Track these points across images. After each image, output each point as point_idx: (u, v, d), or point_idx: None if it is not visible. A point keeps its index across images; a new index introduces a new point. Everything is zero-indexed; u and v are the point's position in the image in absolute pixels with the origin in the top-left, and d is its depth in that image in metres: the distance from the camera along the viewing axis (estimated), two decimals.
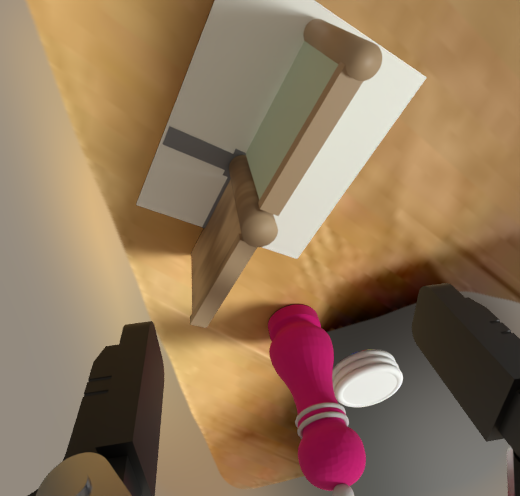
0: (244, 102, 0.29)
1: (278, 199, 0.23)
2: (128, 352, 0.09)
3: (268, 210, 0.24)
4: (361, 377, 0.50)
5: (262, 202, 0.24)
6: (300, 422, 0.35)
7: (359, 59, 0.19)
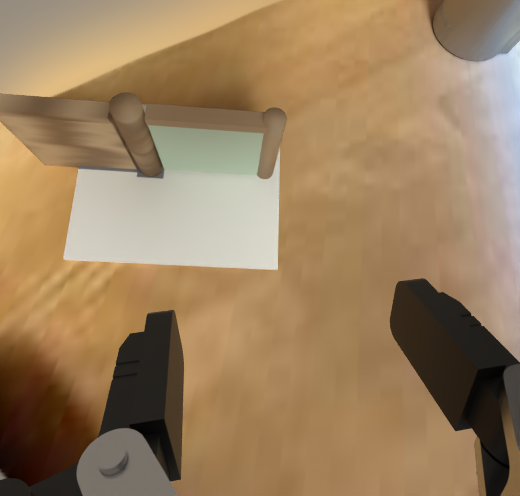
0: None
1: (159, 112, 0.29)
2: (153, 338, 0.09)
3: (147, 109, 0.29)
4: None
5: (151, 105, 0.29)
6: None
7: (274, 113, 0.29)
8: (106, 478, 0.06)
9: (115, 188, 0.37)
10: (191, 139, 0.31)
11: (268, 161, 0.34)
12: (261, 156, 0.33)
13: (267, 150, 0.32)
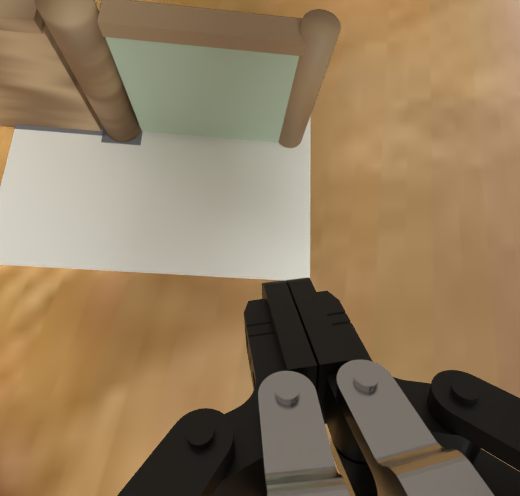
0: None
1: (124, 13, 0.17)
2: (278, 302, 0.10)
3: (103, 7, 0.17)
4: None
5: (111, 2, 0.17)
6: None
7: (320, 18, 0.17)
8: (289, 408, 0.07)
9: (67, 158, 0.25)
10: (179, 72, 0.20)
11: (300, 115, 0.22)
12: (289, 105, 0.22)
13: (301, 93, 0.20)
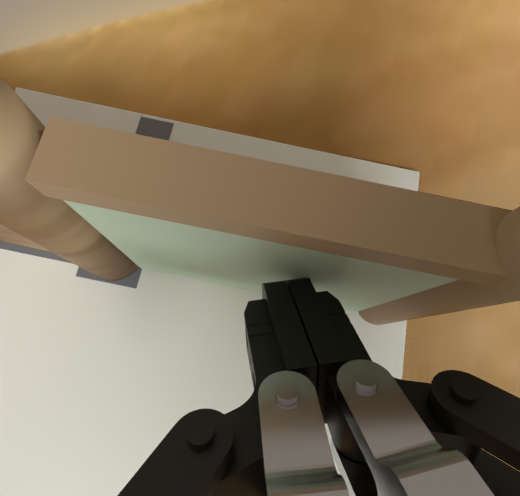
0: None
1: (92, 161, 0.07)
2: (278, 302, 0.10)
3: (46, 142, 0.07)
4: None
5: (72, 126, 0.08)
6: None
7: None
8: (289, 408, 0.07)
9: (18, 299, 0.15)
10: (207, 245, 0.10)
11: (418, 317, 0.12)
12: (403, 302, 0.12)
13: (439, 308, 0.10)
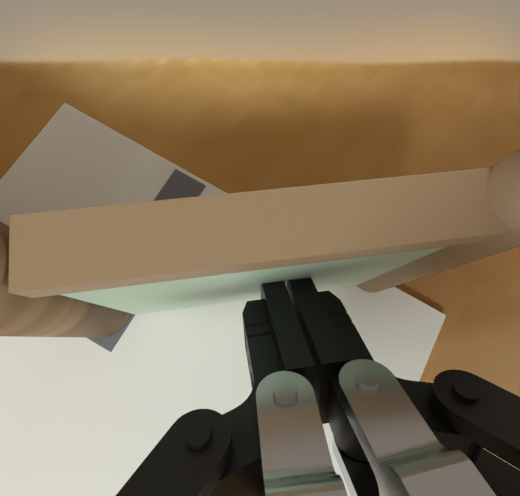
0: (234, 317, 0.16)
1: (74, 249, 0.07)
2: (277, 303, 0.10)
3: (16, 244, 0.07)
4: None
5: (37, 216, 0.07)
6: None
7: None
8: (287, 409, 0.07)
9: None
10: (208, 282, 0.10)
11: (420, 277, 0.12)
12: (404, 270, 0.12)
13: (441, 267, 0.10)
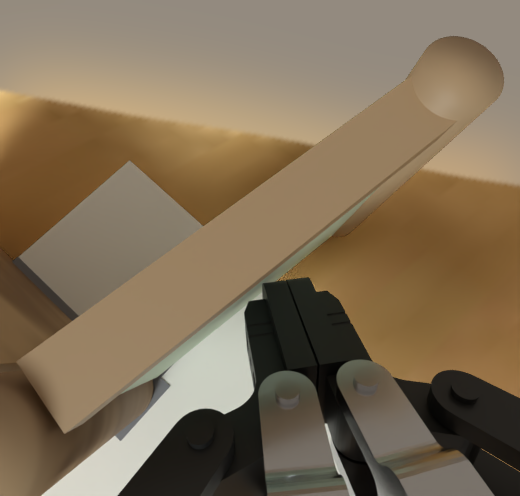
0: None
1: (102, 355, 0.06)
2: (279, 302, 0.10)
3: (42, 384, 0.06)
4: None
5: (43, 346, 0.06)
6: None
7: (450, 60, 0.08)
8: (289, 408, 0.07)
9: None
10: None
11: (386, 199, 0.13)
12: (371, 201, 0.12)
13: (403, 181, 0.11)
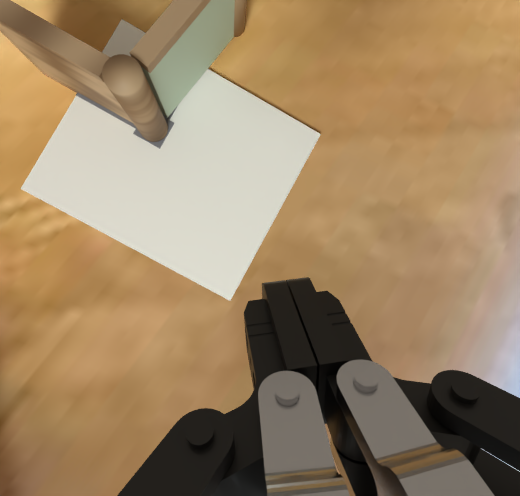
0: (216, 134, 0.33)
1: (150, 47, 0.23)
2: (278, 302, 0.10)
3: (138, 56, 0.23)
4: None
5: (133, 49, 0.23)
6: None
7: None
8: (289, 409, 0.07)
9: (104, 136, 0.32)
10: (182, 51, 0.26)
11: (245, 3, 0.29)
12: (236, 4, 0.28)
13: None
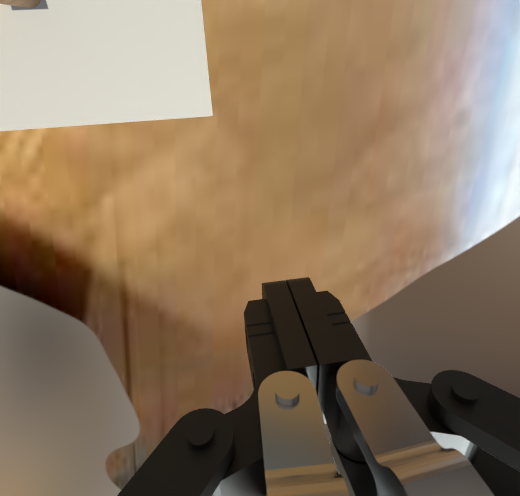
0: None
1: None
2: (278, 302, 0.10)
3: None
4: None
5: None
6: None
7: None
8: (289, 408, 0.07)
9: None
10: None
11: None
12: None
13: None
